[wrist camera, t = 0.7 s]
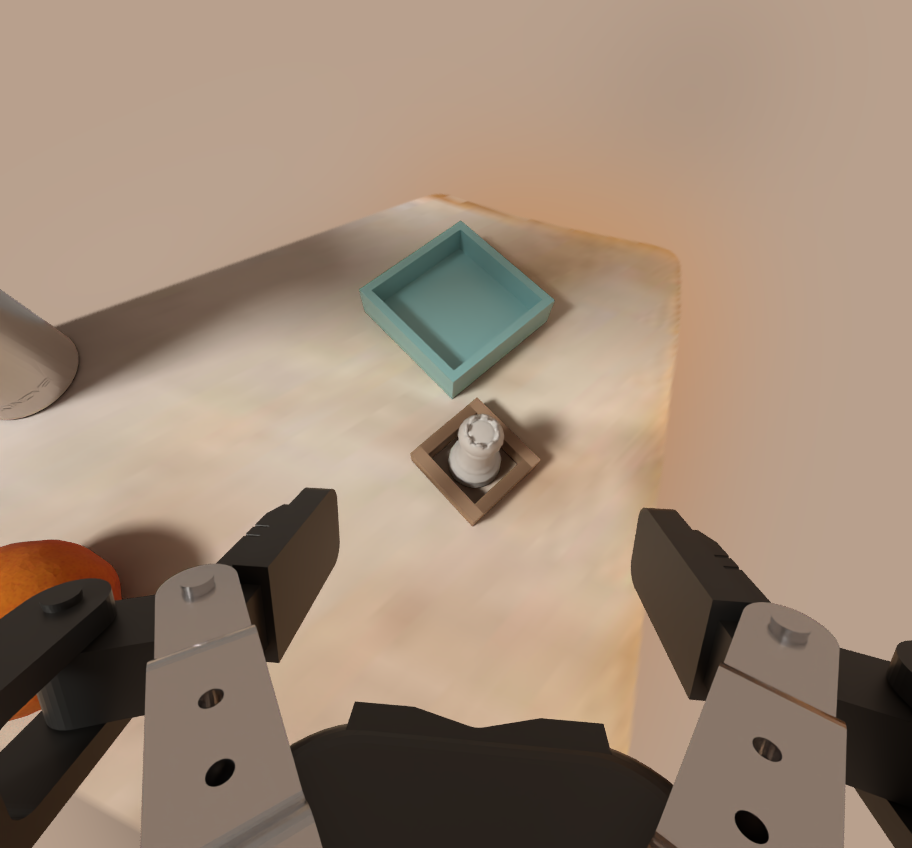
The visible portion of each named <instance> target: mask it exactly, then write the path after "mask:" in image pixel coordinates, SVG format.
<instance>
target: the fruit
mask: <svg viewBox="0 0 912 848" xmlns="http://www.w3.org/2000/svg"><path fill="white" fill-rule="evenodd" d="M87 578H97V579H103V580H105V581H107V582H109V583H110V585H111V588H112V592H113V596H114V600H122V597H121V585H120V581H119V577H118V575H117V573H116V571H115V569H114V568H113V567H112V566H111V565H110V564H109V563H108V562H107V561H105V560H104V559H102V558H101V557H100V556H98V555H96V554H95V553H94V552H92V551H91V550H89V549H87V548H86V547H83V546H81V545H78V544H75V543H71V542H67V541H61V540H41V541H28V542H20V543H14V544H9V545H6V546H3V547H0V619H1V618H2V617H4V616H5V615H6V614H8V613H9V612H11V611H12V610H13V609H15V608H16V607H18V606H19V605H20V604H22V603H23V602H25V601H26V600H28V599H29V598H31V597H32V596H34V595H36V594H38V593H40V592H42V591H44V590H46V589H48V588H51V587H54V586H56V585H59V584H62V583H66V582H69V581H74V580H79V579H87ZM39 710H41V706H40V703H39V700H38V697H37V694H36V695H35V696H34V697H33V698H32V699H31V700H30V701H29V702H28V703H27V704H26V705H25V706H23V707H22V708H21V709H20V710H19V711H18V712H17V713H16V714H15V715H14V716H13V717H12V718H11V719H10V720H14V719H18V718H21V717H24V716H28V715H30V714H32V713H34V712H36V711H39ZM10 720H9V721H10Z"/></svg>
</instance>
